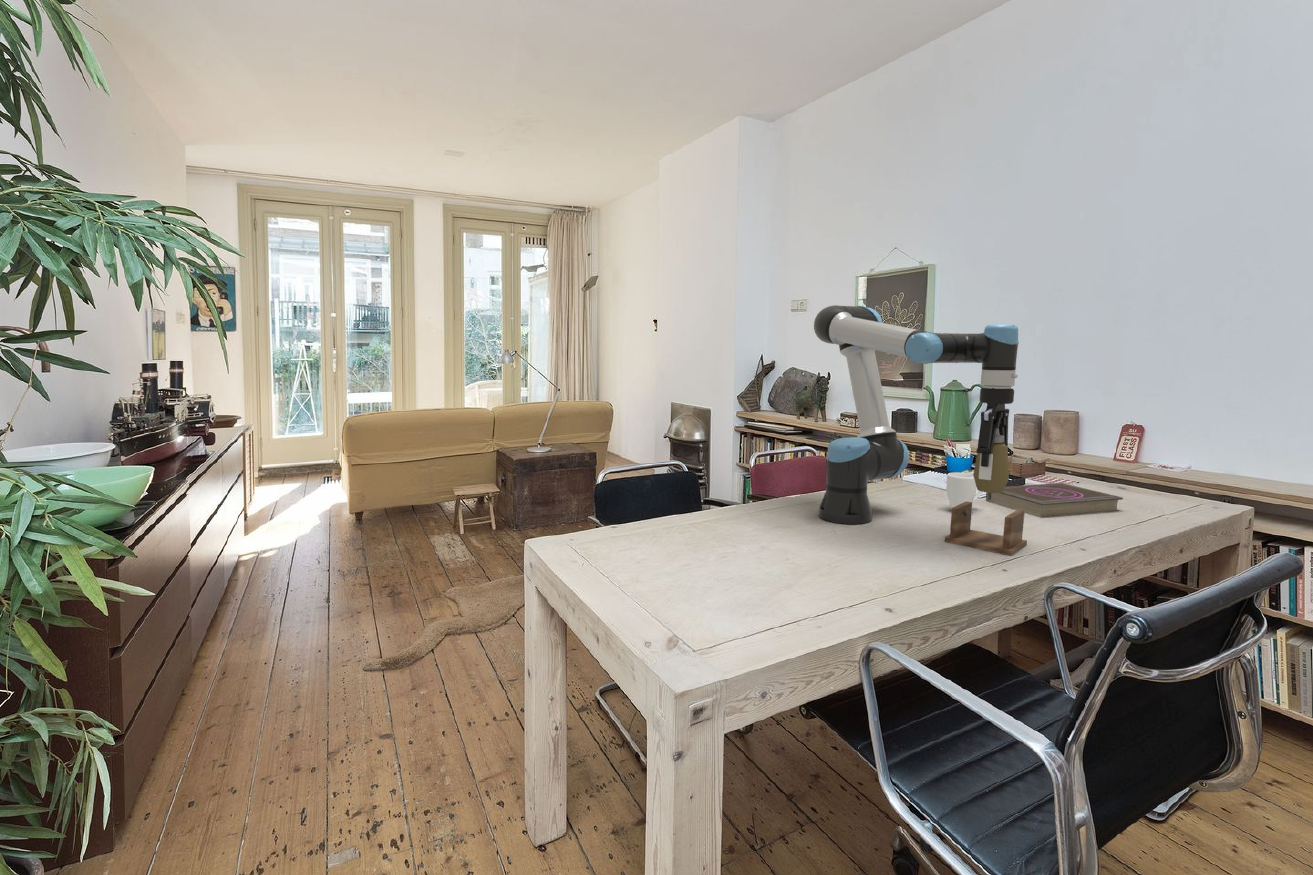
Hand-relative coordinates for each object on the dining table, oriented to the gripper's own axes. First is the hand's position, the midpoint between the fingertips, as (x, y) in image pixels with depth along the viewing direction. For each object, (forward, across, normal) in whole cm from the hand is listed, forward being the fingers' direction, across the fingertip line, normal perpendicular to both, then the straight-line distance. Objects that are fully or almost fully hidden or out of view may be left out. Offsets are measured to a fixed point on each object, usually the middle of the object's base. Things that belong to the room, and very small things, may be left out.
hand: (990, 476), depth 162 cm
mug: (+18, +31, +16) cm, 39 cm away
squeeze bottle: (+4, 0, 0) cm, 4 cm away
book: (+18, +58, -1) cm, 61 cm away
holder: (+18, 0, 0) cm, 18 cm away
